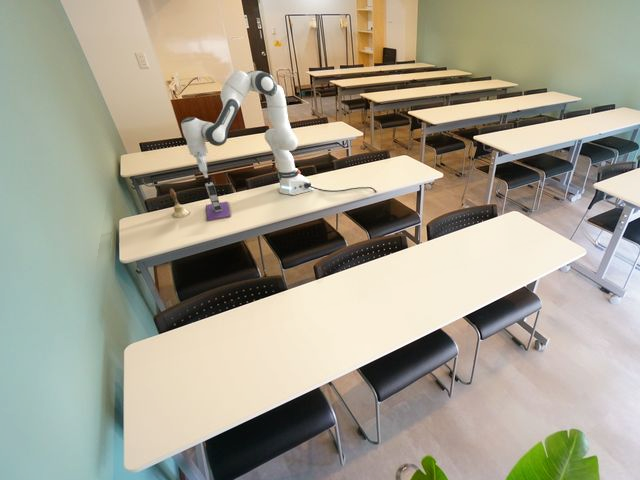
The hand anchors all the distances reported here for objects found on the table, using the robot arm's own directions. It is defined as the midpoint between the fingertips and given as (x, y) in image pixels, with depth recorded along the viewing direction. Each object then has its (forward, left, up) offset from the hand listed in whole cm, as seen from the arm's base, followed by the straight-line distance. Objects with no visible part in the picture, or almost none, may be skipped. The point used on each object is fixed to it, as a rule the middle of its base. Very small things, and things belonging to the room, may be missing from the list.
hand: (206, 174), depth 193 cm
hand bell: (+20, -5, -23) cm, 31 cm away
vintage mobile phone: (0, +1, -22) cm, 22 cm away
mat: (0, 0, -23) cm, 23 cm away
